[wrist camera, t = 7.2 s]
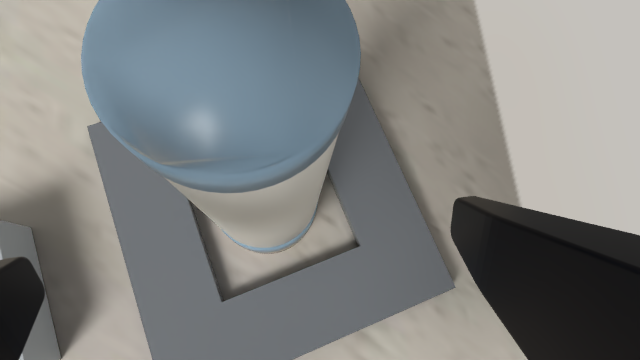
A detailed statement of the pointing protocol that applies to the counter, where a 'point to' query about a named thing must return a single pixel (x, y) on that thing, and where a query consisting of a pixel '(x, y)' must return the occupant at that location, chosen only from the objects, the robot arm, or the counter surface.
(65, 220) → the counter surface
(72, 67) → the counter surface
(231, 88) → the cartridge
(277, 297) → the port plate
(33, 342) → the block
